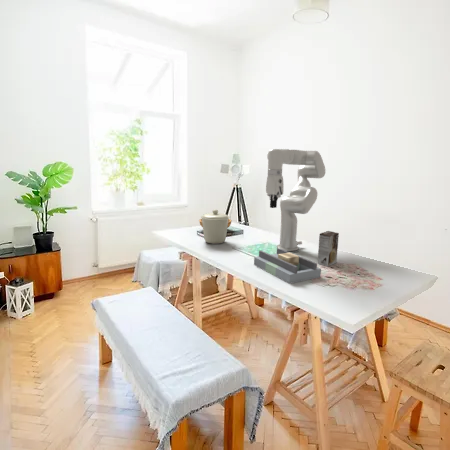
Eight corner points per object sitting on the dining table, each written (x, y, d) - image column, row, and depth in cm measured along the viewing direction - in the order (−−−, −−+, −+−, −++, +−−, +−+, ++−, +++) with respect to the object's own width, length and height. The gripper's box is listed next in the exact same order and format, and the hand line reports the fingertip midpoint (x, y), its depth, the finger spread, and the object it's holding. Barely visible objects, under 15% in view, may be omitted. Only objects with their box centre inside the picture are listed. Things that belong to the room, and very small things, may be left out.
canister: (226, 246, 196) (227, 212, 192) (197, 244, 199) (197, 211, 195) (230, 239, 214) (231, 208, 210) (204, 237, 217) (204, 206, 213)
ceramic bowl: (240, 232, 235) (240, 221, 233) (212, 236, 221) (212, 225, 219) (217, 225, 258) (217, 215, 257) (191, 228, 244) (191, 218, 243)
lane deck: (282, 260, 172) (283, 247, 170) (320, 277, 147) (321, 262, 146) (254, 264, 163) (254, 251, 162) (289, 283, 139) (290, 268, 138)
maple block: (288, 260, 158) (289, 252, 157) (298, 264, 152) (299, 256, 151) (277, 262, 155) (277, 254, 154) (286, 266, 149) (287, 258, 148)
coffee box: (325, 260, 173) (327, 230, 170) (336, 262, 169) (339, 232, 166) (316, 263, 167) (319, 233, 164) (328, 266, 162) (330, 235, 159)
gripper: (289, 173, 165) (287, 209, 169) (272, 172, 178) (270, 205, 182) (277, 173, 162) (275, 210, 165) (260, 172, 175) (259, 206, 178)
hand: (273, 207), depth 174 cm, fingers closed
